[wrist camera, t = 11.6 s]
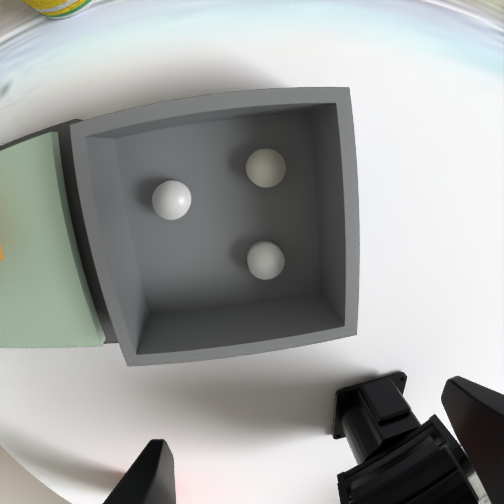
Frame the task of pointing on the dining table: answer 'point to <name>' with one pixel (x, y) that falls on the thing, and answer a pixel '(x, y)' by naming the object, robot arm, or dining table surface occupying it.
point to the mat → (78, 221)
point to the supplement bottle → (59, 7)
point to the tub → (224, 222)
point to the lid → (41, 254)
